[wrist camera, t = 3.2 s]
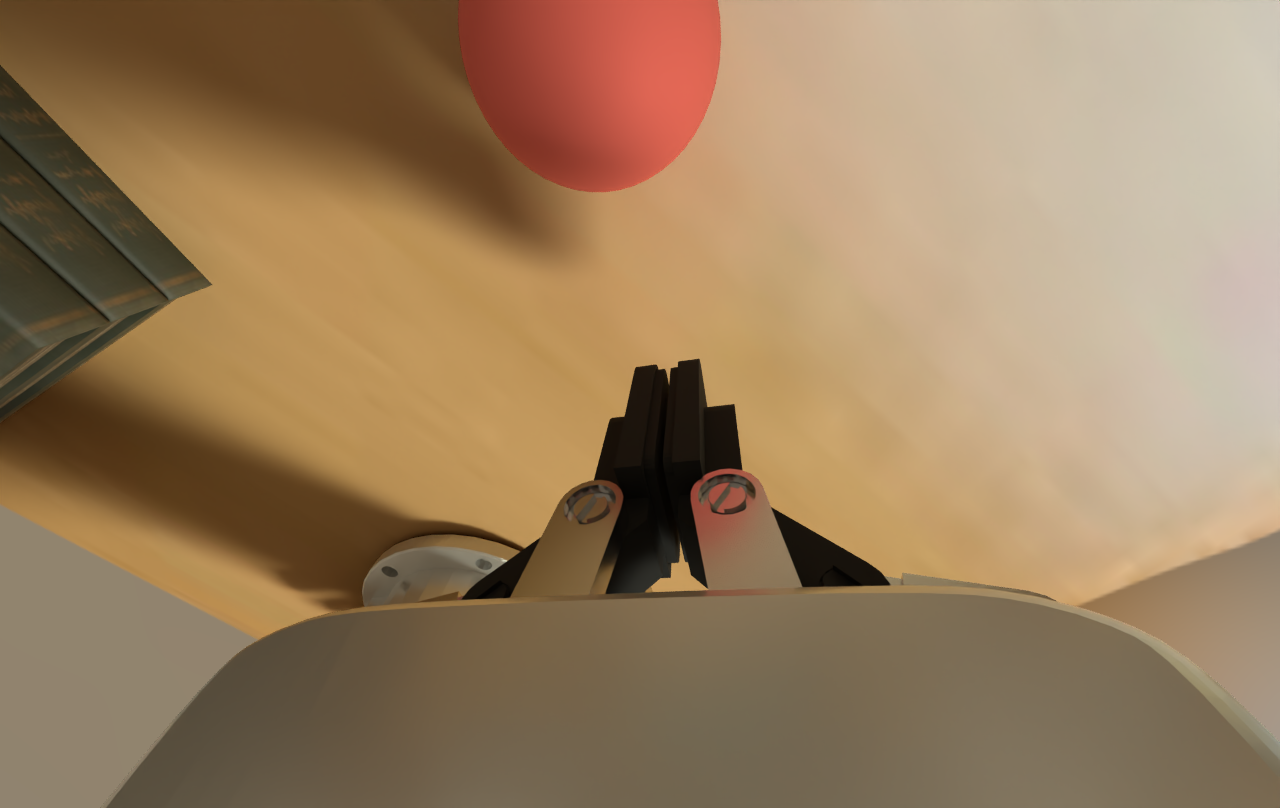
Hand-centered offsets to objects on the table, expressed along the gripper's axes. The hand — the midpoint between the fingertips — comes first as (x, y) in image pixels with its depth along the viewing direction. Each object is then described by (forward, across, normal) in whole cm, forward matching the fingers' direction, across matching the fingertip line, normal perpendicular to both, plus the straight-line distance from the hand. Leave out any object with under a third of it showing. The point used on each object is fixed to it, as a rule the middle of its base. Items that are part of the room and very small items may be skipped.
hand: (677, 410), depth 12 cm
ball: (+4, +1, -8) cm, 9 cm away
